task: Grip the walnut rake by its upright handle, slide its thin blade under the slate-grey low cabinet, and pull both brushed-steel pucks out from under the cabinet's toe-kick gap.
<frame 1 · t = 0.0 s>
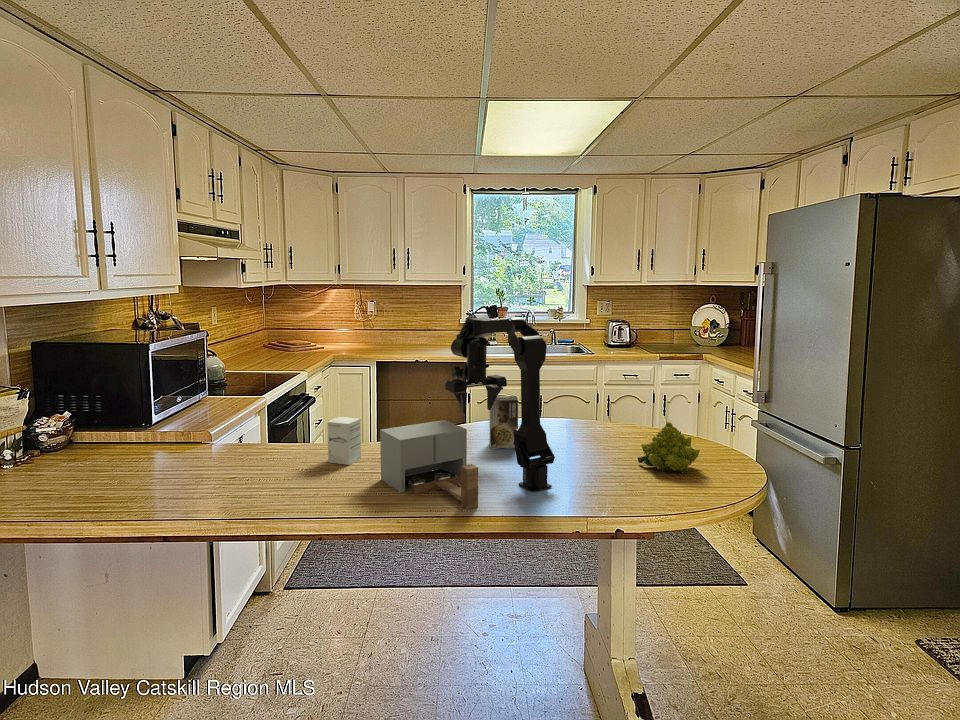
hand: (476, 411, 185), 15 cm above the table, tool pointing down, fingers open, 9 cm apart
coffee box: (503, 446, 201), on the table
cabinet: (423, 479, 169), on the table
rake: (469, 506, 150), on the table
supplement box: (345, 461, 184), on the table
disc right: (443, 481, 168), on the table
disc left: (417, 486, 164), on the table
vegetable: (669, 470, 179), on the table
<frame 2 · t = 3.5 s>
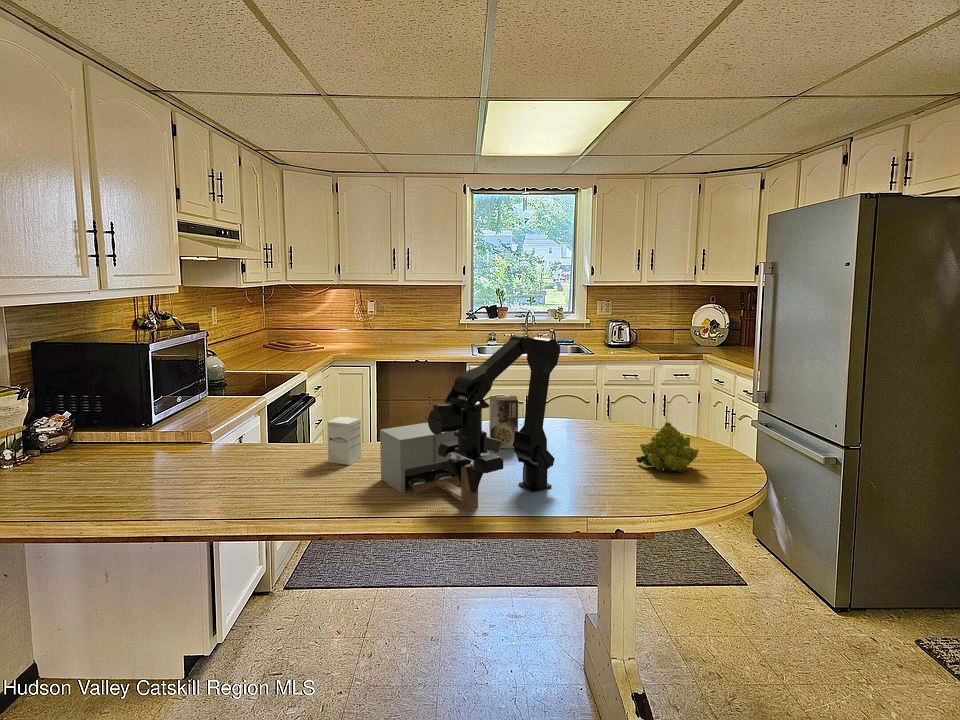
hand: (469, 490, 149), 4 cm above the table, tool pointing down, fingers closed on rake, 3 cm apart
rake: (469, 506, 150), on the table, touching gripper
everything else where it was.
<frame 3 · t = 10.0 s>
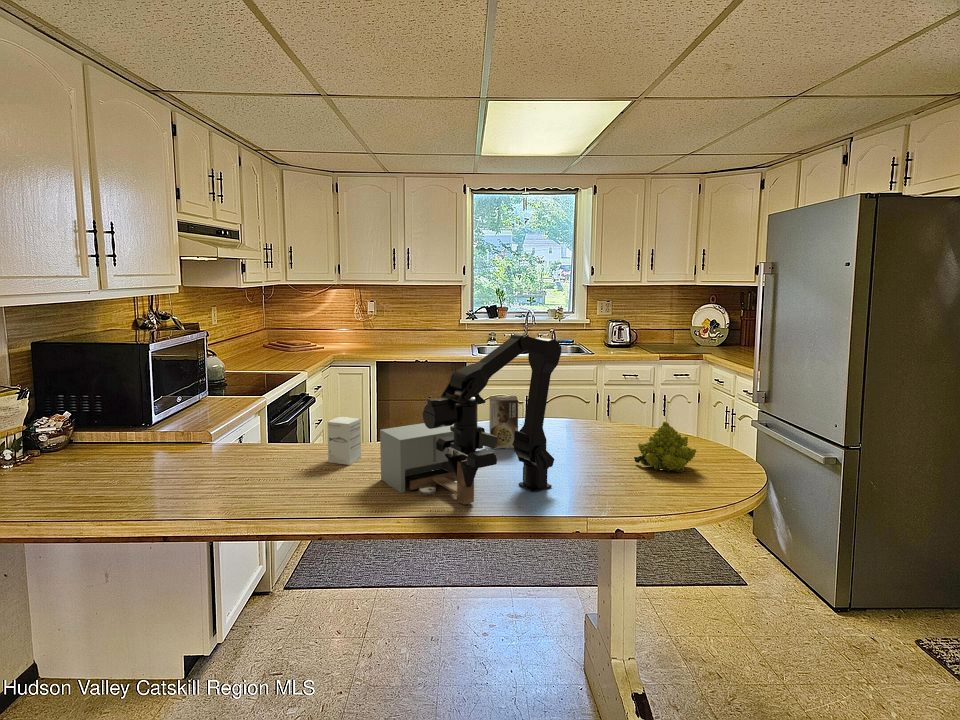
hand: (465, 485, 151), 5 cm above the table, tool pointing down, fingers closed on rake, 3 cm apart
rake: (465, 501, 151), point 1 cm above the table, touching gripper
disc right: (453, 486, 163), on the table
disc left: (427, 492, 159), on the table
everything else where it was.
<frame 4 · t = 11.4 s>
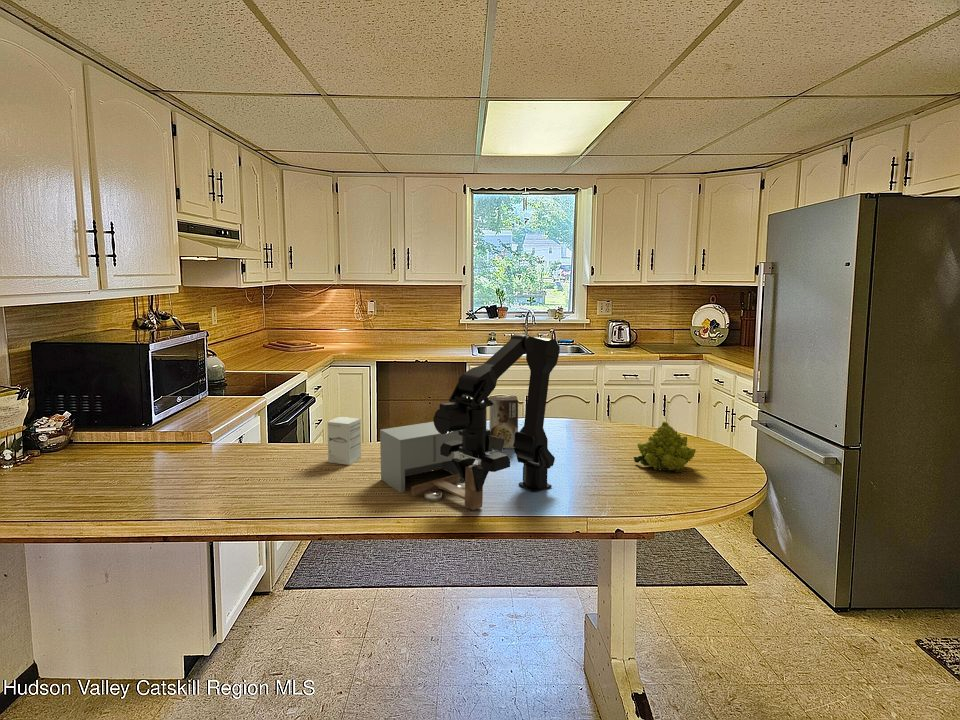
hand: (474, 489, 148), 5 cm above the table, tool pointing down, fingers closed on rake, 3 cm apart
rake: (473, 506, 149), on the table, touching disc left, gripper
disc right: (457, 491, 160), on the table
disc left: (433, 498, 155), on the table, touching rake
when the fingers open (4 cm above the table, at t = 12.3 s): rake stays where it is, on the table.
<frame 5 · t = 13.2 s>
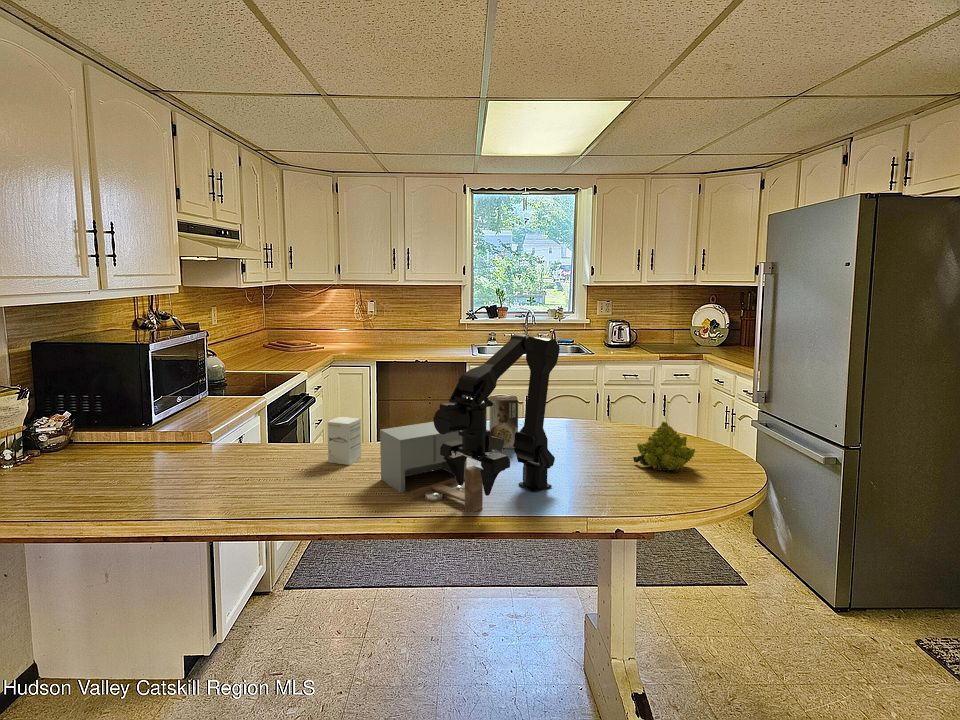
hand: (473, 490, 148), 5 cm above the table, tool pointing down, fingers open, 9 cm apart
rake: (473, 508, 148), on the table
disc left: (433, 499, 155), on the table
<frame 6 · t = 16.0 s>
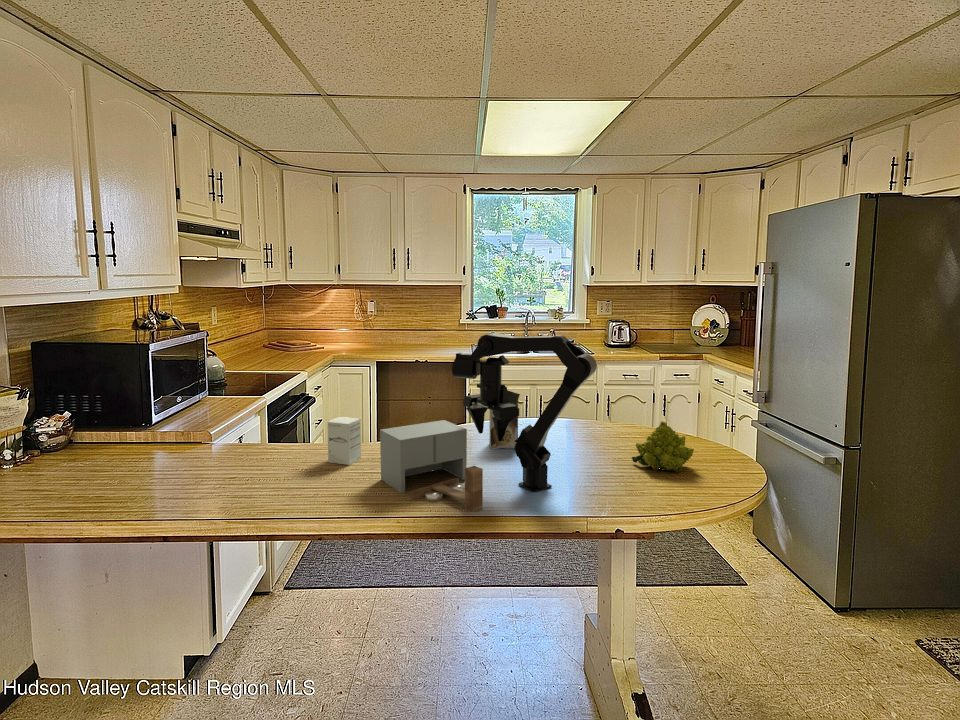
hand: (490, 437, 167), 12 cm above the table, tool pointing down, fingers open, 9 cm apart
at the end: disc right inside the target area (5.6 cm from its centre), on the table; disc left inside the target area (4.1 cm from its centre), on the table; the gripper is holding nothing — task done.
